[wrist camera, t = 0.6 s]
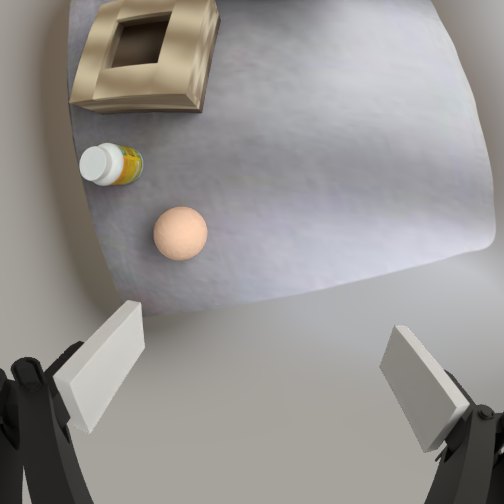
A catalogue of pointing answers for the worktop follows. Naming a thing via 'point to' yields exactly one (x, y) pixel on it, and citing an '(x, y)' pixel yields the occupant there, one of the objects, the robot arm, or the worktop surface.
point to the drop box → (147, 57)
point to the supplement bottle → (111, 164)
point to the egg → (180, 233)
